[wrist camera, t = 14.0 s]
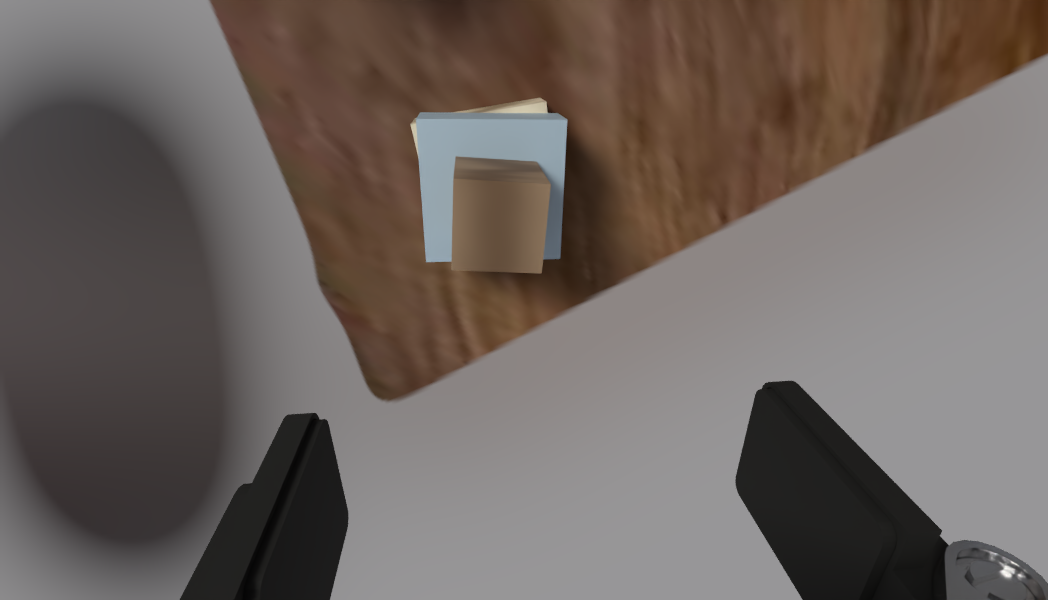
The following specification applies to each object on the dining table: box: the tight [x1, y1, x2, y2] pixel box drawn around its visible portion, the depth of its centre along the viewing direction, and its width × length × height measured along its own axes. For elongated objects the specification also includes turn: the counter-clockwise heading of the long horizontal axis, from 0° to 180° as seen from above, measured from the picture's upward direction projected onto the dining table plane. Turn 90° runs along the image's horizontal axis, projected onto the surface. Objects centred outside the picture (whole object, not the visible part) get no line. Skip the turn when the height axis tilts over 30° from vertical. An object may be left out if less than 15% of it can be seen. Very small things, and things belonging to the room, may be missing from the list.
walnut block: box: [451, 156, 551, 273], centre depth 30 cm, size 5×5×6 cm
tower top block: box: [416, 112, 567, 262], centre depth 34 cm, size 9×9×4 cm
